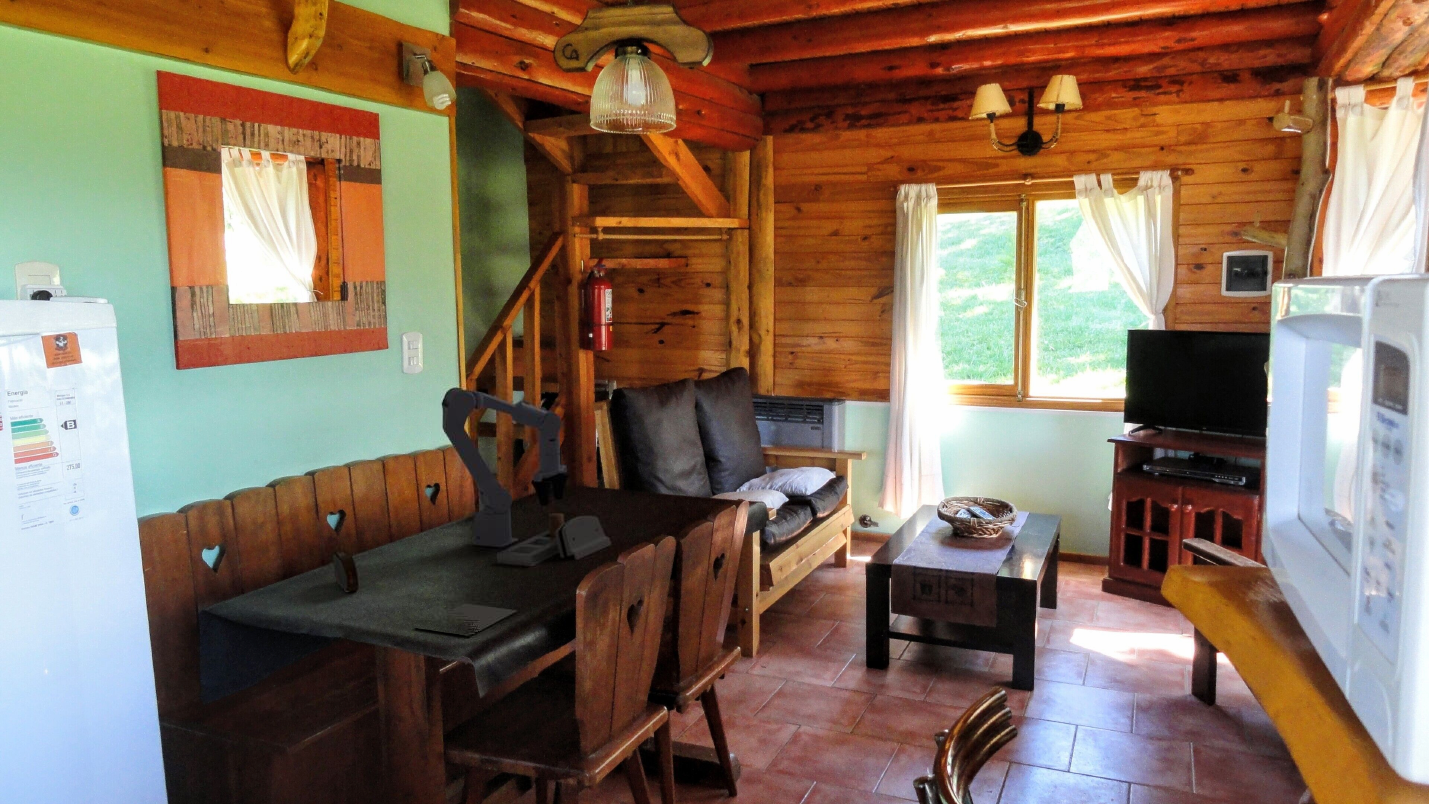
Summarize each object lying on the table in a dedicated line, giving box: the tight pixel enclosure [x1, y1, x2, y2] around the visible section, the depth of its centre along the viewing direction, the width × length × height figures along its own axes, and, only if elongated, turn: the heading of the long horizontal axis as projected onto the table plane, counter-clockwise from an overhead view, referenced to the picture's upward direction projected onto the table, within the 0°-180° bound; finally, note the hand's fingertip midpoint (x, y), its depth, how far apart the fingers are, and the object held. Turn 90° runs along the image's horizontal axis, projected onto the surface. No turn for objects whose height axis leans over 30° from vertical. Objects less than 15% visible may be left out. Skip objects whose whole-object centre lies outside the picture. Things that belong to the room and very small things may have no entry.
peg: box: [548, 512, 565, 538], centre depth 265 cm, size 4×4×8 cm
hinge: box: [555, 515, 612, 560], centre depth 258 cm, size 17×5×10 cm, turn 153°
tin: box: [332, 548, 359, 592], centre depth 230 cm, size 15×3×8 cm, turn 32°
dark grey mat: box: [445, 603, 518, 635], centre depth 210 cm, size 23×25×1 cm
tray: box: [496, 529, 560, 567], centre depth 258 cm, size 10×26×2 cm, turn 159°
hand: (551, 502), depth 274 cm, fingers open, 7 cm apart
